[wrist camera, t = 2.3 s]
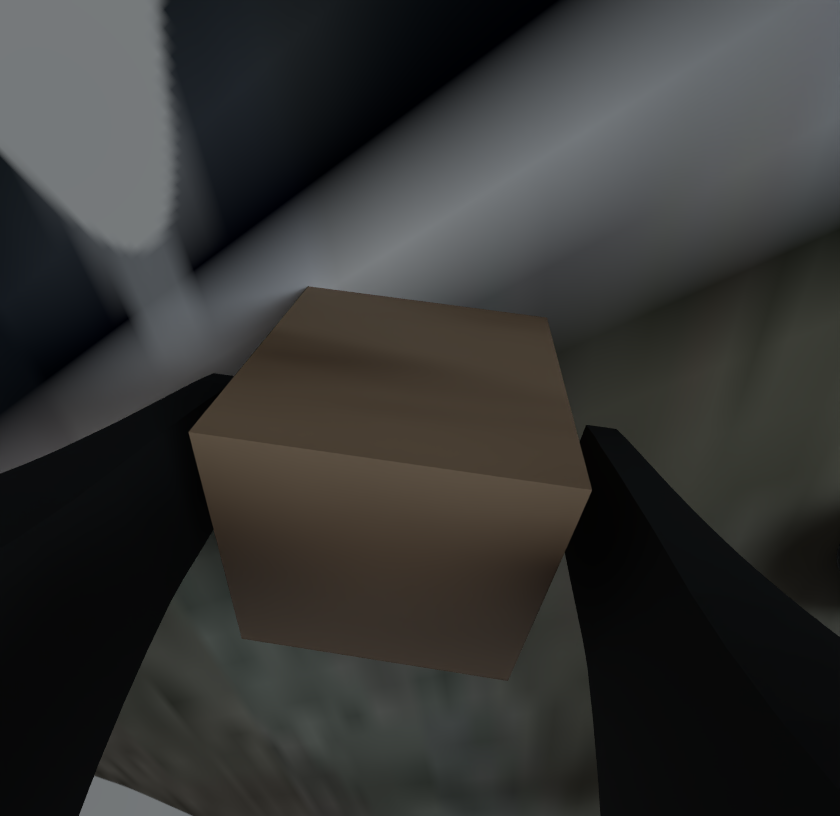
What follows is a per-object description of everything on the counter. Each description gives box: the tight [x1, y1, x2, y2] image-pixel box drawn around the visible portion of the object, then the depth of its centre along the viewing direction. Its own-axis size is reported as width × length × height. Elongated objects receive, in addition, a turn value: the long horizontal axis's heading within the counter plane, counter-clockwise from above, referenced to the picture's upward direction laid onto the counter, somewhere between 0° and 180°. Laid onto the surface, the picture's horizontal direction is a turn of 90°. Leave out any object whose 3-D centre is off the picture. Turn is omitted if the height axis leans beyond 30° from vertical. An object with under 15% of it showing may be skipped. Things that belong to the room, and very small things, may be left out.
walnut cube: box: [189, 286, 592, 681], centre depth 9 cm, size 5×5×5 cm
